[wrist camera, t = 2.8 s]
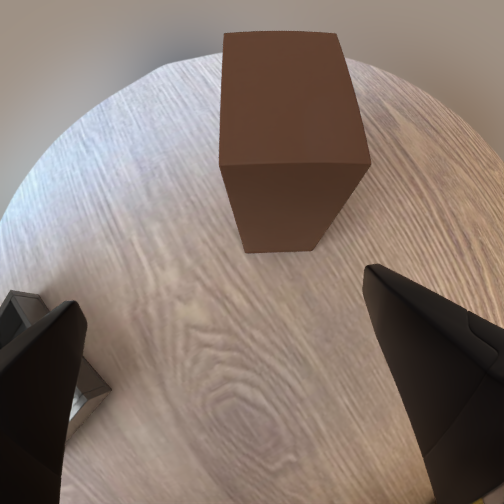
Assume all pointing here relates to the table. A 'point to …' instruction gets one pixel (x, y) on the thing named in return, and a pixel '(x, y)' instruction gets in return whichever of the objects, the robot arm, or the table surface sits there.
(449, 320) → the robot arm
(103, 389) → the open box
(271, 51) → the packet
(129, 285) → the table surface
